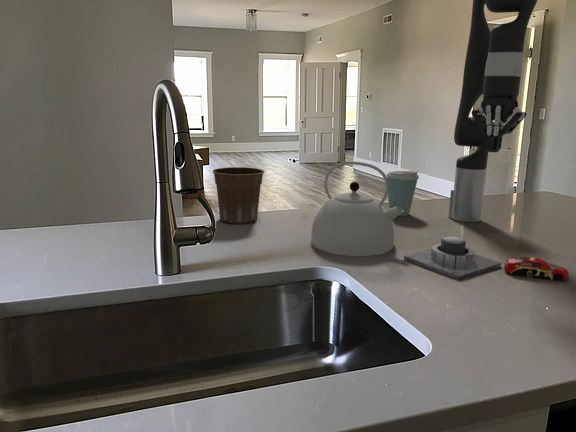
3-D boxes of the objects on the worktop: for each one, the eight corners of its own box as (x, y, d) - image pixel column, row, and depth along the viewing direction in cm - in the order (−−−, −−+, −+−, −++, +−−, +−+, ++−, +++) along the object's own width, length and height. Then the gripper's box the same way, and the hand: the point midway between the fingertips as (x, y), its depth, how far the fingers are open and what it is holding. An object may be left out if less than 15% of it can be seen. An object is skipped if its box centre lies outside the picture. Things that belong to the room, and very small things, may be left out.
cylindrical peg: (434, 257, 115) (436, 238, 114) (449, 253, 118) (451, 234, 117) (453, 264, 111) (455, 244, 110) (468, 260, 114) (470, 240, 113)
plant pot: (256, 212, 163) (255, 165, 159) (270, 223, 148) (271, 173, 144) (209, 215, 157) (208, 167, 153) (220, 228, 143) (218, 175, 139)
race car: (565, 275, 108) (568, 259, 107) (570, 284, 103) (573, 267, 102) (503, 267, 113) (505, 251, 112) (504, 275, 108) (506, 259, 107)
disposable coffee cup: (378, 213, 162) (380, 170, 159) (393, 208, 170) (396, 167, 167) (406, 219, 156) (409, 174, 152) (420, 213, 164) (424, 170, 160)
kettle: (410, 239, 134) (417, 160, 129) (389, 263, 114) (395, 171, 109) (329, 227, 145) (331, 154, 139) (297, 247, 125) (298, 163, 120)
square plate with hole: (403, 259, 117) (404, 246, 116) (445, 248, 125) (446, 236, 125) (458, 280, 104) (460, 265, 103) (500, 266, 113) (502, 252, 112)
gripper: (466, 74, 109) (459, 149, 113) (520, 73, 98) (509, 156, 103) (486, 75, 113) (478, 148, 117) (540, 74, 102) (529, 154, 106)
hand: (493, 151), depth 110 cm, fingers closed
